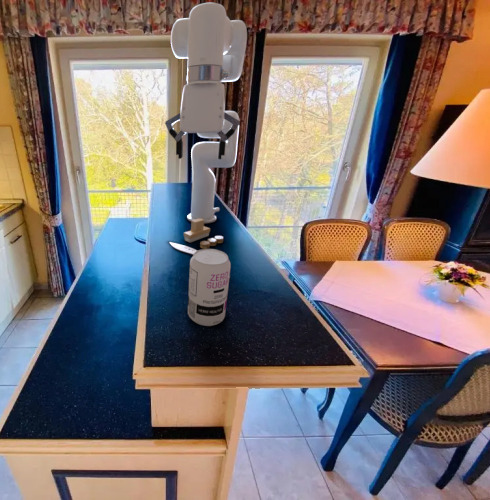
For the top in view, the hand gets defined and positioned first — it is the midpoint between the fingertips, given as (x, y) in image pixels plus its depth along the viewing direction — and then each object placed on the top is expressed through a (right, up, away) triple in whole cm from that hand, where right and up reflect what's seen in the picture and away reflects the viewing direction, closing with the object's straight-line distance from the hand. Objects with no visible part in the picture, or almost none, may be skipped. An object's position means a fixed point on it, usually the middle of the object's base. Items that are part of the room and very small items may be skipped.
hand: (199, 158), depth 69 cm
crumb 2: (+11, -20, +31) cm, 39 cm away
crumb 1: (+6, -22, +27) cm, 35 cm away
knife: (+1, -26, +19) cm, 32 cm away
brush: (+4, -18, +34) cm, 39 cm away
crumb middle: (+9, -21, +29) cm, 37 cm away
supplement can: (0, -38, -6) cm, 38 cm away
